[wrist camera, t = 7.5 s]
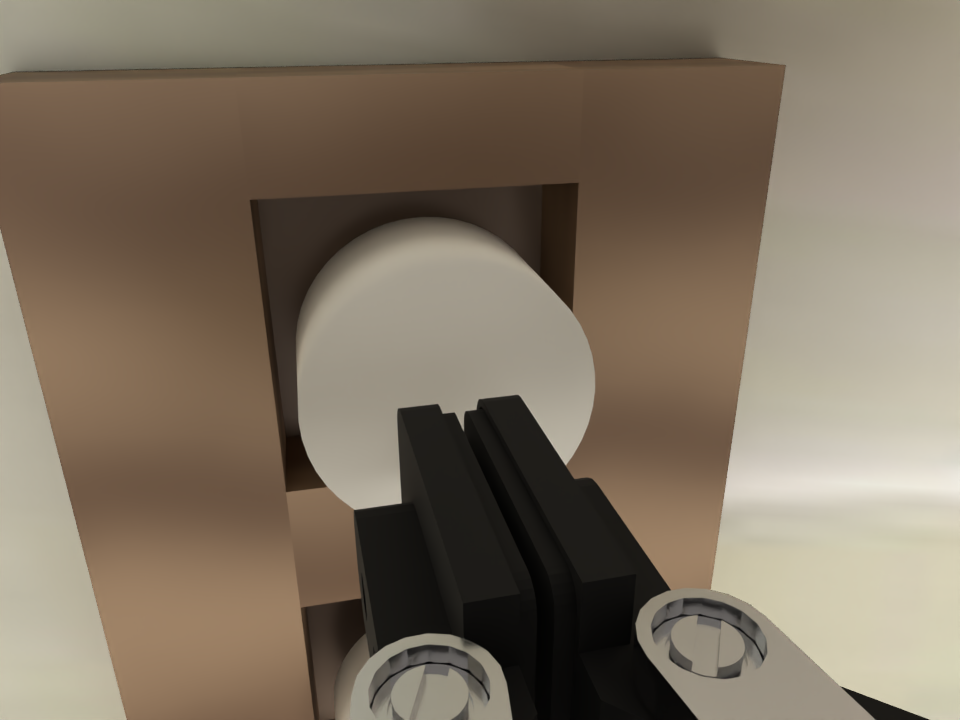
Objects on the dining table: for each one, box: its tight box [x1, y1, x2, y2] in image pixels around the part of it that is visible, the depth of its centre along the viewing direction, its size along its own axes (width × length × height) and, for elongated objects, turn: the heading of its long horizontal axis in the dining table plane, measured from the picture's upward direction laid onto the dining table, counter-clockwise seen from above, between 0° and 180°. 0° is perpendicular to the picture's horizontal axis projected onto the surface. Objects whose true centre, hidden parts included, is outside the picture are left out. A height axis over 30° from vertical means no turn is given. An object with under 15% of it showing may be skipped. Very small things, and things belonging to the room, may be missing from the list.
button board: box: [0, 58, 786, 720], centre depth 20 cm, size 28×14×2 cm, turn 0°
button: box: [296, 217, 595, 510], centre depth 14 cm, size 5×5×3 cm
